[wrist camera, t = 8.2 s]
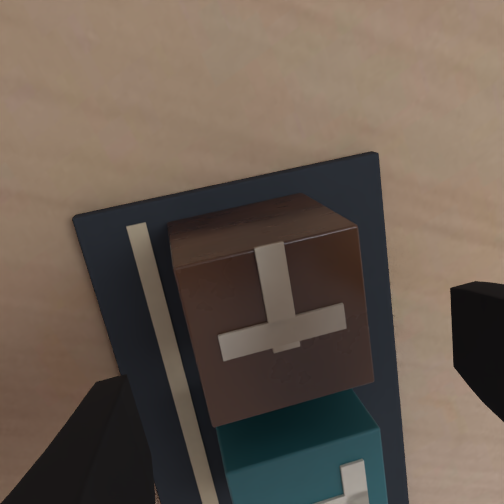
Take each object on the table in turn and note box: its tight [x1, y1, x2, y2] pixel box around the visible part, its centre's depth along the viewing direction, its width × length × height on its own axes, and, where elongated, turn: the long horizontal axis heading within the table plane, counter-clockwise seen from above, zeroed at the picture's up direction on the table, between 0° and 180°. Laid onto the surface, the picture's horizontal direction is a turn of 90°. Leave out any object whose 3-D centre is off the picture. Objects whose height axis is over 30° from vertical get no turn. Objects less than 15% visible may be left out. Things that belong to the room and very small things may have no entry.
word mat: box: [72, 151, 409, 504], centre depth 18 cm, size 10×18×1 cm, turn 10°
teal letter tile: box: [216, 388, 388, 504], centre depth 16 cm, size 4×4×5 cm
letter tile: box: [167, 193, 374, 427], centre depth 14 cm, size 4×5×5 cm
